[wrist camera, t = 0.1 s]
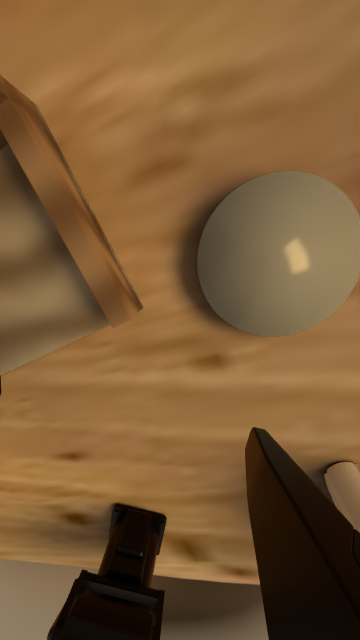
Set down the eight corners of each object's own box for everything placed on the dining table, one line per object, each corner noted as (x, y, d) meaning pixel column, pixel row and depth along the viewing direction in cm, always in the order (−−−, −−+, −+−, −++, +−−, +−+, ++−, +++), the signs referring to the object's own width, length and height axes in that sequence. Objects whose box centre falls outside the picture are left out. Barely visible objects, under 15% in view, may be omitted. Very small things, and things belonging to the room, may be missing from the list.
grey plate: (319, 341, 22) (330, 350, 20) (186, 314, 23) (184, 320, 21) (374, 193, 18) (393, 186, 17) (214, 166, 19) (215, 157, 17)
